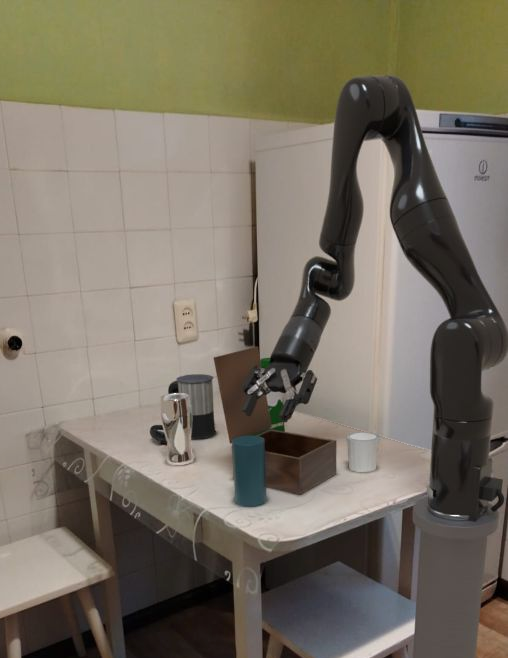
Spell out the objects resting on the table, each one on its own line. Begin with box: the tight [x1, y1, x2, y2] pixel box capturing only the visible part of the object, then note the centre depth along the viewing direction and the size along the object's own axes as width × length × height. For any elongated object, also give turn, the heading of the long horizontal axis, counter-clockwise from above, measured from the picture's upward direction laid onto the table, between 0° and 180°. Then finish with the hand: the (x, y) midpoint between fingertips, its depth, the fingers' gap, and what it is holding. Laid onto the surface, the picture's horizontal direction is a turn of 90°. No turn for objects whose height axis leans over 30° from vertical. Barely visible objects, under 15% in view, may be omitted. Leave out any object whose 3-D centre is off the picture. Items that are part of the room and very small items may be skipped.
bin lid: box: [213, 346, 272, 445], centre depth 133 cm, size 18×14×1 cm
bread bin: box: [231, 429, 337, 496], centre depth 132 cm, size 17×14×7 cm
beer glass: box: [159, 393, 195, 466], centre depth 143 cm, size 7×7×15 cm
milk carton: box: [252, 357, 286, 436], centre depth 155 cm, size 9×9×20 cm
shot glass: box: [346, 431, 381, 473], centre depth 135 cm, size 7×7×7 cm
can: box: [231, 436, 268, 508], centre depth 120 cm, size 6×6×12 cm
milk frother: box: [149, 373, 217, 444], centre depth 160 cm, size 14×16×15 cm
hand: (263, 417), depth 120 cm, fingers open, 8 cm apart
